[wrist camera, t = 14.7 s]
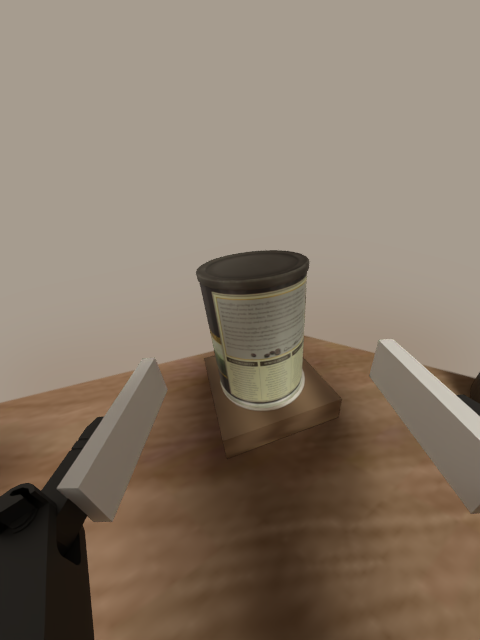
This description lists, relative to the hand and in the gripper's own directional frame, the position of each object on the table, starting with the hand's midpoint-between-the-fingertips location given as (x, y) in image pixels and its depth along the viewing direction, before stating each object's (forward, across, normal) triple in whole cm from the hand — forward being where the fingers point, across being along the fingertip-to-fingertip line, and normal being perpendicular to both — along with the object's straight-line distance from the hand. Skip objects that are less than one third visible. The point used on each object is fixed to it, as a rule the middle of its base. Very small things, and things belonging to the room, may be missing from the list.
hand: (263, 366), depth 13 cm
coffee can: (+10, 0, -10) cm, 14 cm away
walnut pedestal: (+10, 0, -13) cm, 16 cm away
